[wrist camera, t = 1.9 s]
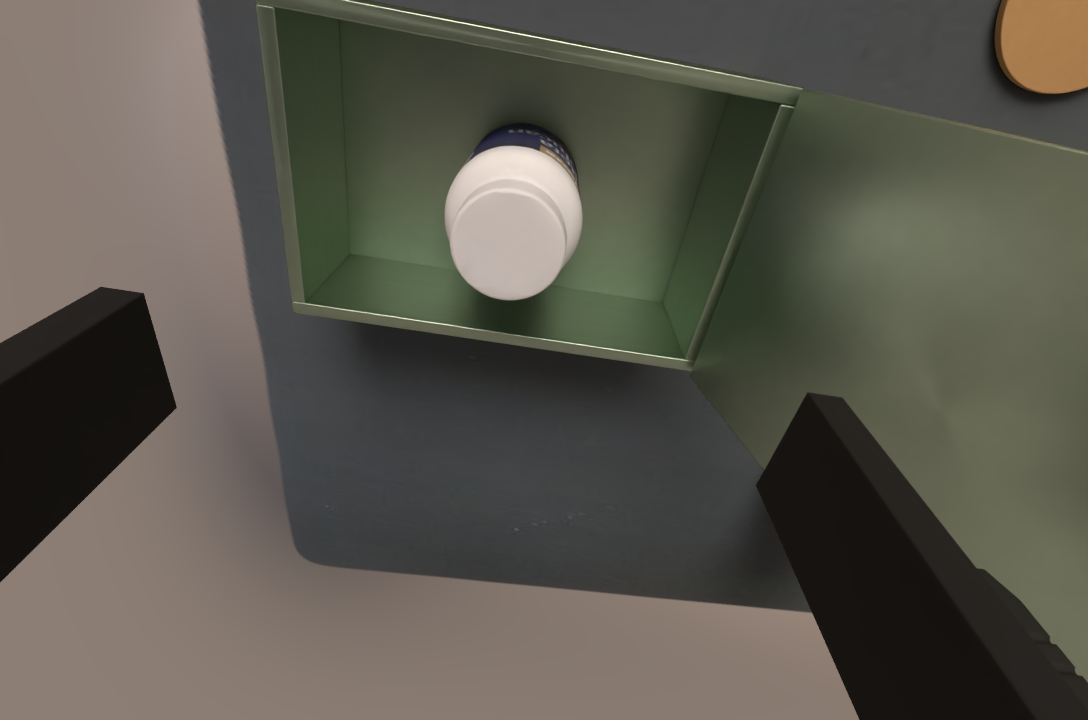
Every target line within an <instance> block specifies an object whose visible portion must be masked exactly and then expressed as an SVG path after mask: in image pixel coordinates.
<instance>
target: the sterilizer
mask: <svg viewBox="0 0 1088 720" xmlns="http://www.w3.org/2000/svg"><path fill="white" fill-rule="evenodd" d="M256 3H257V4H256V8H257V17H258V25H259V33H260V41H261V50H262V58H263V66H264V75H265V83H266V91H267V99H268V108H269V116H270V124H271V133H272V141H273V149H274V157H275V166H276V174H277V182H278V191H279V199H280V207H281V216H282V224H283V232H284V240H285V249H286V257H287V265H288V274H289V282H290V290H291V298H292V301H293V302H292V305H293V312H294V313H299V314H306V315H313V316H320V317H326V318H333V319H340V320H347V321H354V322H360V323H367V324H374V325H381V326H387V327H394V328H401V329H408V330H415V331H421V332H428V333H435V334H442V335H449V336H455V337H462V338H469V339H476V340H482V341H489V342H496V343H503V344H510V345H516V346H523V347H530V348H537V349H543V350H550V351H557V352H564V353H571V354H577V355H584V356H591V357H598V358H605V359H611V360H618V361H625V362H632V363H638V364H645V365H652V366H659V367H666V368H672V369H679V370H686V371H692V369H693V367H694V364H695V361H696V359H697V356H698V354H699V351H700V349H701V346H702V344H703V341H704V338H705V336H706V333H707V331H708V328H709V326H710V323H711V321H712V318H713V316H714V313H715V310H716V308H717V305H718V303H719V300H720V298H721V295H722V293H723V290H724V287H725V285H726V282H727V280H728V277H729V275H730V272H731V270H732V267H733V264H734V262H735V259H736V257H737V254H738V252H739V249H740V247H741V244H742V242H743V239H744V236H745V234H746V231H747V229H748V226H749V224H750V221H751V219H752V216H753V213H754V211H755V208H756V206H757V203H758V201H759V198H760V196H761V193H762V190H763V188H764V185H765V183H766V180H767V178H768V175H769V173H770V170H771V168H772V165H773V162H774V160H775V157H776V155H777V152H778V150H779V147H780V145H781V142H782V139H783V137H784V134H785V132H786V129H787V127H788V124H789V122H790V119H791V116H792V114H793V111H794V109H795V106H796V104H797V101H798V99H799V96H800V94H801V91H802V89H803V88H802V87H798V86H793V85H789V84H785V83H781V82H777V81H773V80H769V79H765V78H761V77H756V76H752V75H748V74H744V73H739V72H734V71H729V70H724V69H718V68H713V67H708V66H703V65H698V64H693V63H687V62H682V61H677V60H672V59H667V58H662V57H657V56H651V55H646V54H641V53H636V52H631V51H626V50H621V49H615V48H610V47H605V46H600V45H595V44H590V43H584V42H579V41H574V40H569V39H564V38H559V37H554V36H548V35H543V34H538V33H533V32H528V31H523V30H518V29H512V28H507V27H502V26H497V25H492V24H487V23H482V22H476V21H471V20H466V19H461V18H456V17H451V16H445V15H440V14H435V13H430V12H425V11H420V10H415V9H409V8H404V7H399V6H394V5H389V4H384V3H379V2H373V1H368V0H256ZM511 122H531V123H536V124H539V125H542V126H544V127H546V128H548V129H550V130H551V131H553V132H554V133H555V134H557V135H558V136H559V137H560V138H561V139H562V140H563V141H564V143H565V144H566V145H567V147H568V148H569V150H570V152H571V154H572V156H573V158H574V161H575V164H576V168H577V173H578V182H579V190H580V197H581V205H582V214H583V224H582V232H581V236H580V240H579V243H578V245H577V248H576V250H575V252H574V254H573V255H572V257H571V258H570V260H569V261H568V262H567V263H566V264H565V266H564V267H563V268H562V269H561V270H560V272H559V274H558V275H557V277H556V278H555V280H554V281H553V282H552V283H551V284H550V285H549V286H548V287H547V288H546V289H544V290H543V291H541V292H540V293H538V294H536V295H534V296H531V297H529V298H525V299H520V300H500V299H495V298H492V297H489V296H487V295H485V294H483V293H480V292H479V291H477V290H476V289H474V288H473V287H472V286H471V285H469V284H468V283H467V282H466V281H465V279H464V278H463V277H462V276H461V274H460V273H459V271H458V270H457V268H456V266H455V264H454V261H453V258H452V255H451V249H450V241H449V239H448V236H447V232H446V227H445V204H446V199H447V195H448V192H449V189H450V187H451V185H452V183H453V181H454V179H455V177H456V176H457V174H458V173H459V171H460V170H461V168H462V167H463V166H464V164H465V163H466V161H467V160H468V158H469V157H470V155H471V154H472V153H473V151H474V150H475V148H476V147H477V145H478V144H479V142H480V141H481V140H482V139H483V138H484V137H485V136H486V135H487V134H488V133H490V132H491V131H492V130H494V129H495V128H497V127H499V126H502V125H504V124H507V123H511Z"/></svg>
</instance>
